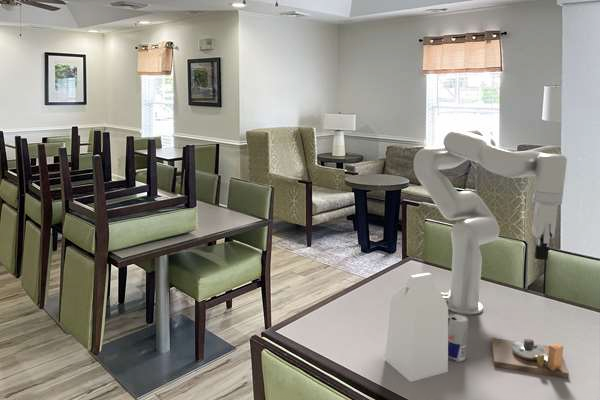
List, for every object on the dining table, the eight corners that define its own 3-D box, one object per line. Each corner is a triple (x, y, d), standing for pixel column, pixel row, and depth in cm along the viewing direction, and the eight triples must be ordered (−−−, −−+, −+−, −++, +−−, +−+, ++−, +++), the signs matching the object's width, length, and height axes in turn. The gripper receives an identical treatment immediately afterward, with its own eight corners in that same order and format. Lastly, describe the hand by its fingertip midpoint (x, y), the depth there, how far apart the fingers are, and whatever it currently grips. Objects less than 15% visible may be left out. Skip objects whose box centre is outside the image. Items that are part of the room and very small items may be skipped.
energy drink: (442, 352, 138) (445, 313, 135) (460, 352, 138) (463, 313, 136) (449, 362, 133) (452, 322, 130) (468, 362, 133) (471, 321, 131)
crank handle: (505, 349, 136) (507, 329, 135) (525, 343, 140) (528, 323, 138) (546, 372, 125) (548, 350, 123) (567, 365, 128) (569, 344, 127)
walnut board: (493, 366, 131) (495, 347, 130) (491, 342, 144) (492, 325, 143) (568, 378, 125) (570, 359, 124) (558, 352, 138) (560, 334, 137)
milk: (410, 381, 124) (415, 285, 118) (385, 360, 134) (389, 271, 129) (447, 371, 128) (454, 278, 123) (420, 351, 139) (425, 265, 133)
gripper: (530, 191, 147) (524, 250, 150) (536, 201, 133) (530, 265, 136) (557, 193, 144) (551, 252, 148) (567, 203, 130) (559, 268, 134)
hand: (541, 258), depth 142 cm, fingers closed
